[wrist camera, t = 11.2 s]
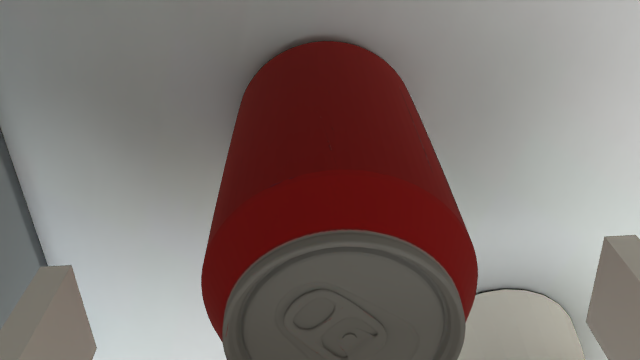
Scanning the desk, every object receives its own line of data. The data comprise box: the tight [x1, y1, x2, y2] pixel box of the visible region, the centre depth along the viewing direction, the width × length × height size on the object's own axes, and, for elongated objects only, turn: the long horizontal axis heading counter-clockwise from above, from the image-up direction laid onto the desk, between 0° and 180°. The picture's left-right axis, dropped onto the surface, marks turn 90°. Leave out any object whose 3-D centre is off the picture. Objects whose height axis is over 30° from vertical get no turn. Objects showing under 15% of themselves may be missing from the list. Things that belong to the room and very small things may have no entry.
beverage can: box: [201, 41, 478, 360], centre depth 18 cm, size 7×7×12 cm
